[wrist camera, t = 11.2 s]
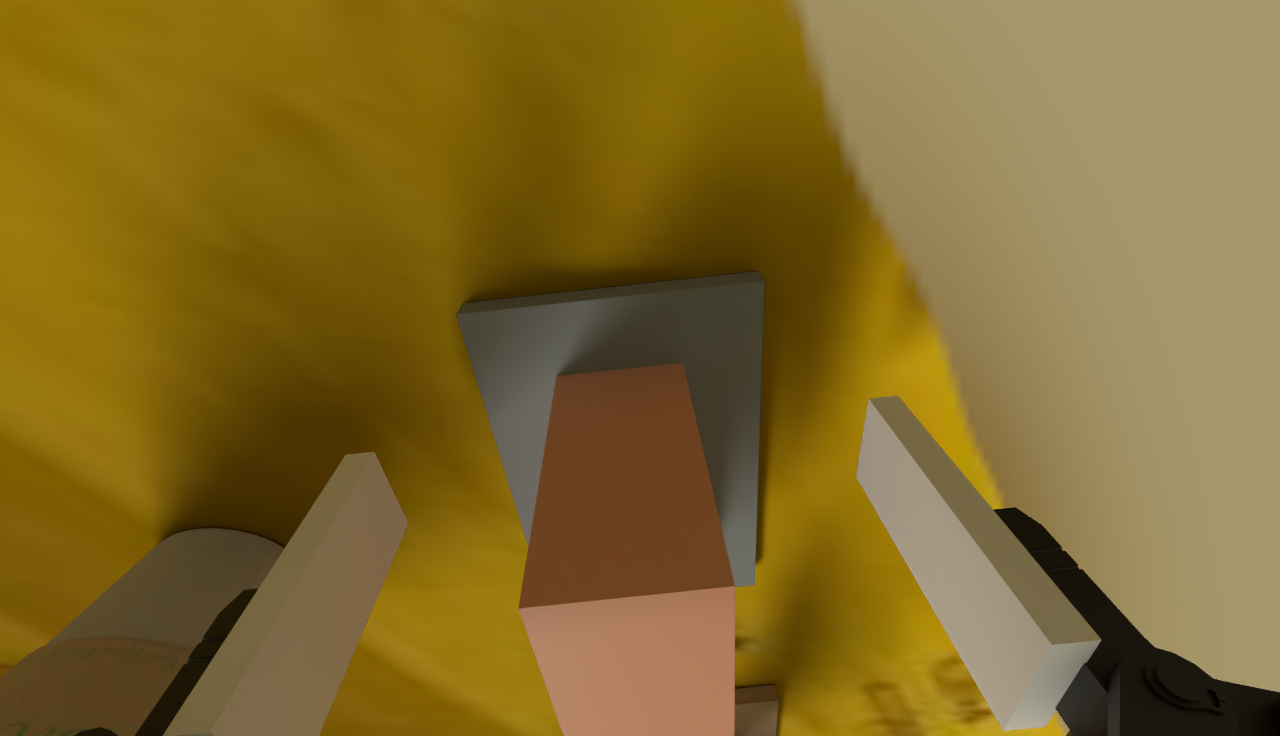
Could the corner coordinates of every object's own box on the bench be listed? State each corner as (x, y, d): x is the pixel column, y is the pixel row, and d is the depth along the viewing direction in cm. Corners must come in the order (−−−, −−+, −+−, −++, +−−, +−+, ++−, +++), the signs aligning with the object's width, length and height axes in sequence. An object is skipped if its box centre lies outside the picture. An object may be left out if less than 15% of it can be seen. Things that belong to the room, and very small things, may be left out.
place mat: (462, 303, 16) (456, 314, 15) (757, 270, 16) (764, 281, 15) (548, 590, 23) (546, 606, 22) (750, 569, 23) (754, 584, 22)
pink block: (556, 376, 16) (518, 608, 10) (682, 362, 16) (734, 586, 10) (595, 562, 21) (588, 806, 14) (693, 552, 21) (734, 791, 14)
